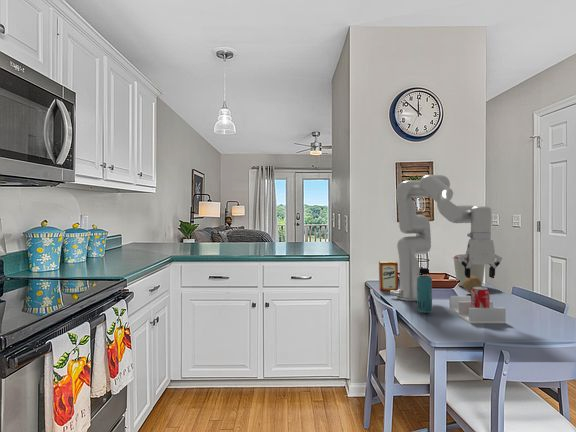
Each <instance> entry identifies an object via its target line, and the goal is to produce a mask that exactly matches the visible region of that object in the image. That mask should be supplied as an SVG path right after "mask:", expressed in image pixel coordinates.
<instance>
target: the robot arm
mask: <svg viewBox="0 0 576 432" xmlns="http://www.w3.org/2000/svg"><path fill="white" fill-rule="evenodd" d="M450 186H451V182H450V180H449V178H448V177H447V176H446V175H443V174H427V175H423V176H422V177H421V178H420V180H415V179H413V180H412V179H410V180H404V181H401V182H400V183H399V184H398V185H397V188H396V190H395V199H396V202H397V208H398V227H399V231H400V232H401V233H403V234H407V235H410V234H411V236H404V237H401V238H400V239H399V240H397V244H396V245H397V246H396V247H397V253H398V259H399V260H398V261H399V264H398V265H399V288H398V290H396V291H389V293H390V295H393V296H396V299H398V300H399V301H405V302H417V278H418V277H419V276H420V273H419V271H420V263H419V260H418V259H417V256H416V255H418V256H419V255H427V254H428V253H429V252H430V251H431V248H432V235H431V224H430V223H431V222H430V220H429V219H428V218H427V216H426V215H423V214H417V212H416V210H417V209H416V204H415V202H414V200H413V199H412V198H429V197H430V198H431V199H432V200H433V201H434V202H436V206H437V210H438V212H439V214H440V215H441V216H442V217H443V218H445V219H446V220H447V221H448V222H450V223H452V224H470V232H469V233H467V237H468V238H469V239H468V243H467V246H466V251H467V253H466V252H465V253H463V254H464V255H462V254H461V255H462V256H460V257H458V259H459V261H460V262H461V264H462V265H463V266H464V267H465V276H466V277H467V278H470V268H469V267H470V266H471V265H472V264H485V265H489V269H488V277H489V278H491V279H495V276H496V269H497V268H498V266H499V265H500V264H501V262H502V259H503V257H502V256H499V255H498V254H496V252H495V244H494V240H493V239H491V238H492V237H491V235H492V208H491V207H490V206H486V205H485V206H484V205H483V206H481V205H479V206H477V205H472V204H471V205H469V204H468V205H467V204H466V205H463V204H461V205H460V204H459V205H456V204H454V202H452V201H451V200H452V199H453V195H454V192H453V189H452V188H451V187H450ZM412 234H415V236H414V235H412ZM464 258H466V260H467V262H466V263H465V262H464V260H463V259H464Z"/></svg>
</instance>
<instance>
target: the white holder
mask: <svg viewBox="0 0 576 432" xmlns="http://www.w3.org/2000/svg"><path fill="white" fill-rule="evenodd" d="M448 299H449V311H451V312H453V313H454V314H456V315H457V316H459V317H460V318H461V319H462V320H465V322H467V323H469V324H506V321H507V319H506V315H507V314H506V308H505V307H494V302H493V301H490V308H471V295H449V297H448Z"/></svg>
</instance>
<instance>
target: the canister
mask: <svg viewBox="0 0 576 432" xmlns="http://www.w3.org/2000/svg"><path fill="white" fill-rule="evenodd" d="M466 253H467V250H466V251H465V253H463V254H457V255H456V254H455V256H452V259H453V264H454V265H453V266H454V271H455V273H454V274H455V280H456V279H458V280H460V282H459V284H458V283H457V285H458V286H460V287H463V282H464V281H465V279H466V278H467V277H466V276H465V267H464V266H463V265H462V264H461V262H460V261H459V259H458V257H460V256H462V255H464V254H466ZM463 260H464V262H465V263H466V262H467V260H466V258H464V259H463ZM485 267H486V264H472V265H471V266H470V267H469V268H470V276H476V277H478V278H479V279H480V281H481V286H482V285H483V283H484V276H485ZM463 288H464V287H463Z"/></svg>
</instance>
